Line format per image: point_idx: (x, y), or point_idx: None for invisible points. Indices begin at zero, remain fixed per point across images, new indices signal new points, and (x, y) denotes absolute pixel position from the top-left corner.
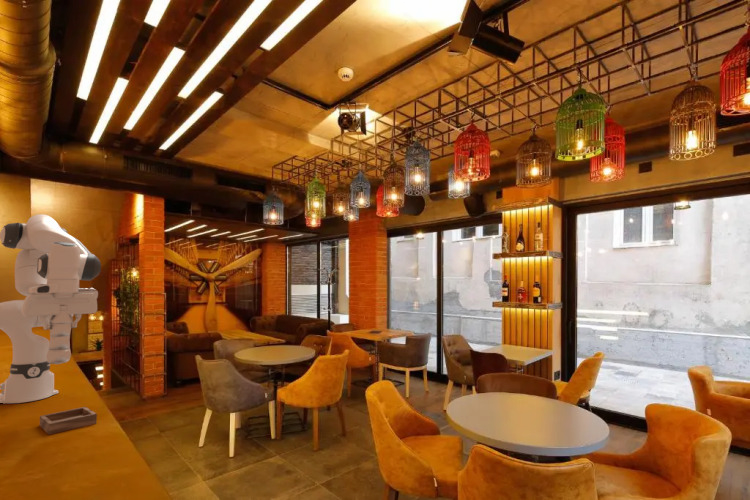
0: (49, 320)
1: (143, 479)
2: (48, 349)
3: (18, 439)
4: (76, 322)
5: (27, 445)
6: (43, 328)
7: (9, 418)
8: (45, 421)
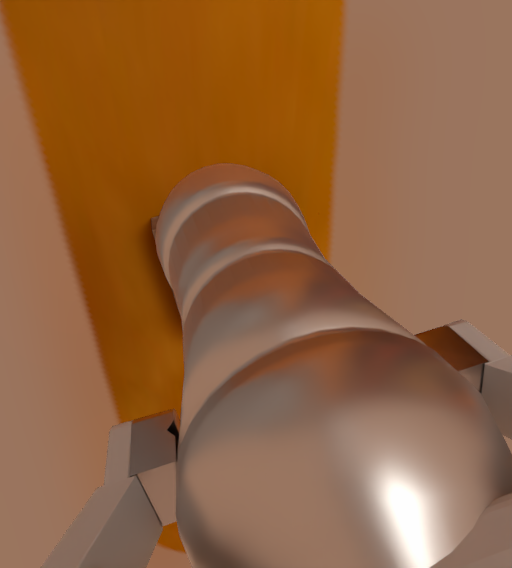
0: (185, 546)
1: None
2: (169, 277)
3: (116, 321)
4: (492, 413)
5: (147, 376)
6: (110, 433)
7: (8, 3)
8: (174, 296)
